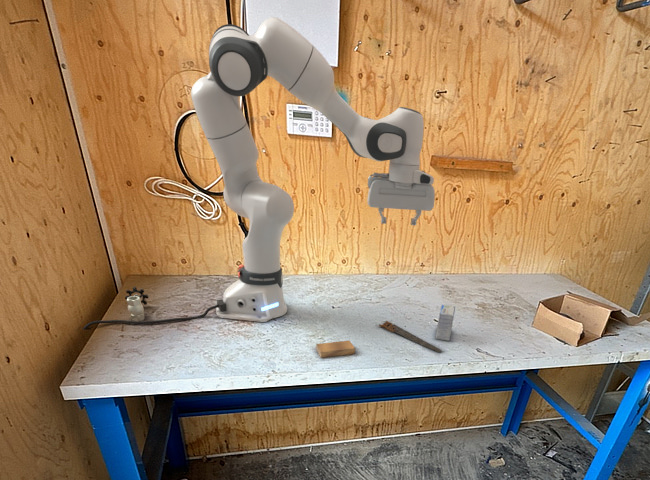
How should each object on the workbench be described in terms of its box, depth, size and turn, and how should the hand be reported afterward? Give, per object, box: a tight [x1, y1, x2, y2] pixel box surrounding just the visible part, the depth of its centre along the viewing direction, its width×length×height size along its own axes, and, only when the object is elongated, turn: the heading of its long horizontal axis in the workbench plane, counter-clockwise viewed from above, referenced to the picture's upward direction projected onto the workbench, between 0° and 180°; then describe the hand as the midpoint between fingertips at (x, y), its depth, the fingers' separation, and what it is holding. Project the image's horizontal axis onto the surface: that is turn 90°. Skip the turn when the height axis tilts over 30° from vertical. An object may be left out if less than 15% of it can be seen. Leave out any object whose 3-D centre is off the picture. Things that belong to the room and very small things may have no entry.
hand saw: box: [378, 320, 443, 353], centre depth 135 cm, size 24×5×1 cm, turn 48°
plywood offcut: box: [315, 340, 356, 359], centre depth 123 cm, size 10×5×2 cm, turn 112°
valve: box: [124, 286, 149, 321], centre depth 132 cm, size 7×7×12 cm
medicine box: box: [435, 304, 456, 342], centre depth 136 cm, size 8×4×9 cm, turn 169°
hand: (398, 224), depth 135 cm, fingers open, 8 cm apart
